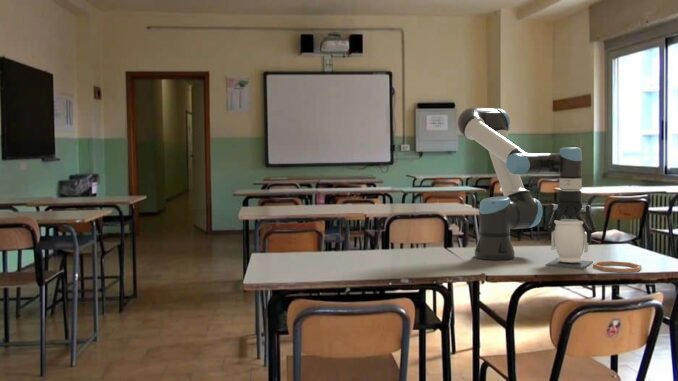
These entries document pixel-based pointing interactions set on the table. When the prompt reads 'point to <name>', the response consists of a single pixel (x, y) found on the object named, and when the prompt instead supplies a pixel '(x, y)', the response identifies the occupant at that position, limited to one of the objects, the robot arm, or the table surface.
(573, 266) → the mat
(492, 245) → the robot arm
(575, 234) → the jar
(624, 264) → the brown wooden ring
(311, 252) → the table surface
